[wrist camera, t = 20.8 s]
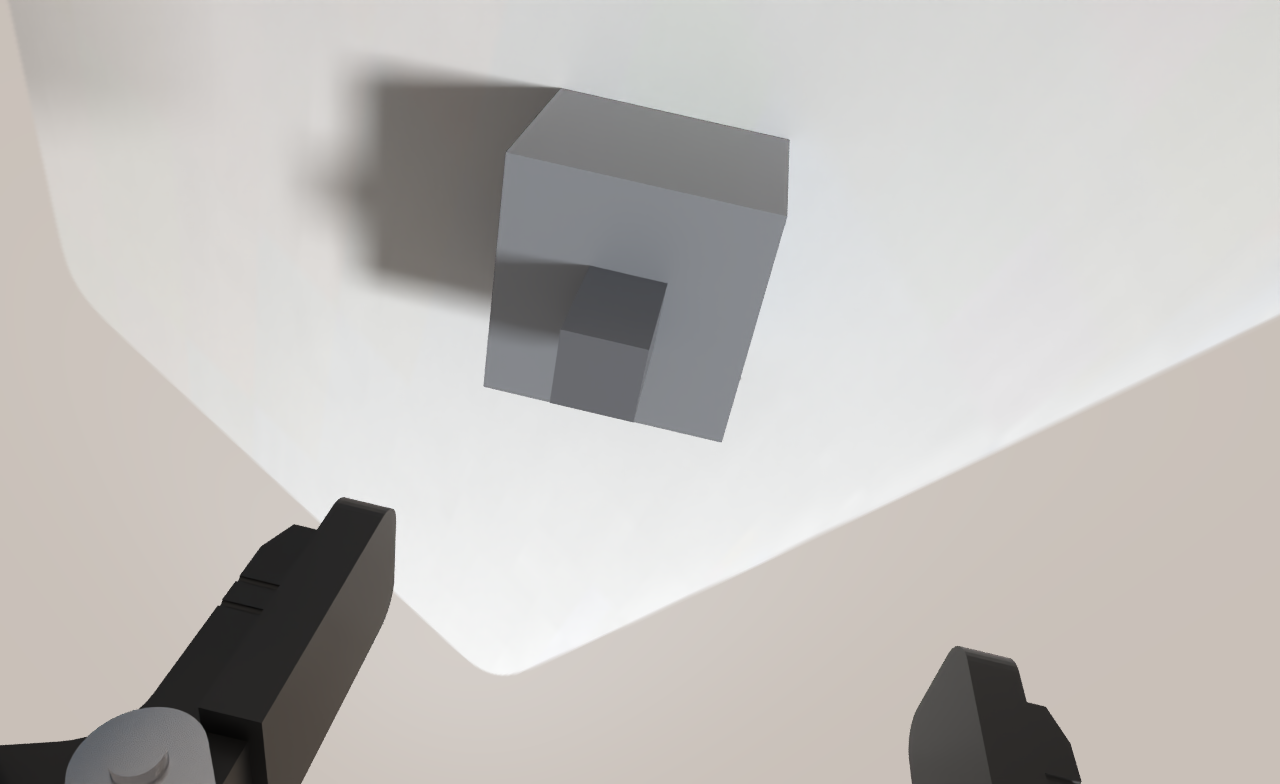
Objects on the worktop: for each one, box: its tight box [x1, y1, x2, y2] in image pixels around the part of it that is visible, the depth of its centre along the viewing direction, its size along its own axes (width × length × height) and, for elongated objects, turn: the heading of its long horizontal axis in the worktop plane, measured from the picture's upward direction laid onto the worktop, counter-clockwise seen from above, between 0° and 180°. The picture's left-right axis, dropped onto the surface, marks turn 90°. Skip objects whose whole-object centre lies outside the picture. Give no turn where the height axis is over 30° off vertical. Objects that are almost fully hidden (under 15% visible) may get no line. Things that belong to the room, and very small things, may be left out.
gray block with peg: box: [484, 88, 789, 442], centre depth 36 cm, size 10×10×14 cm
